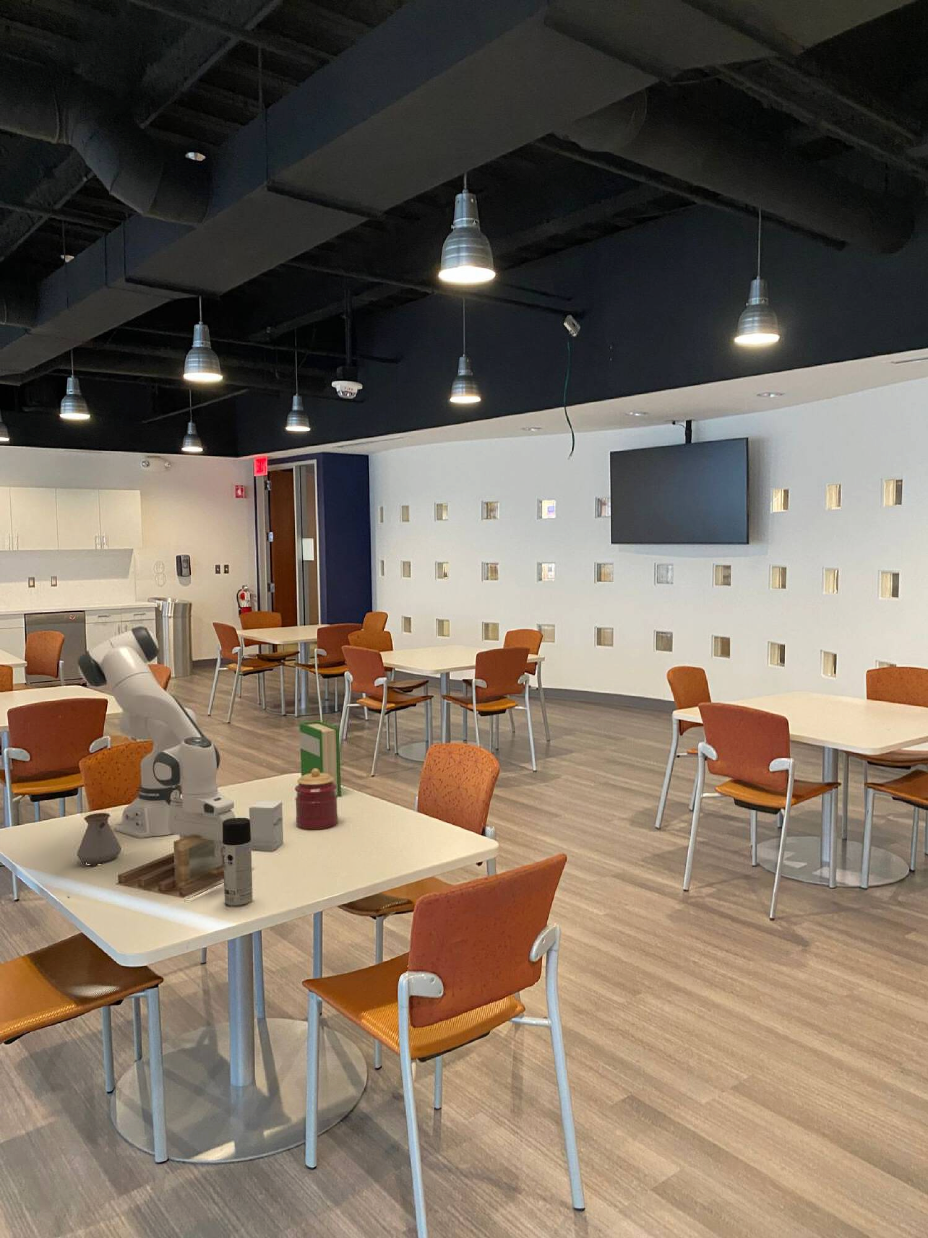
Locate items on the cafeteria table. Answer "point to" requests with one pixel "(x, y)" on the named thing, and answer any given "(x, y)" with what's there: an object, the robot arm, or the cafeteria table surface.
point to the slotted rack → (165, 878)
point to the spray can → (237, 861)
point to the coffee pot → (98, 841)
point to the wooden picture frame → (194, 859)
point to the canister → (316, 801)
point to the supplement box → (266, 825)
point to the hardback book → (320, 750)
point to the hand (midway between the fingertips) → (202, 854)
